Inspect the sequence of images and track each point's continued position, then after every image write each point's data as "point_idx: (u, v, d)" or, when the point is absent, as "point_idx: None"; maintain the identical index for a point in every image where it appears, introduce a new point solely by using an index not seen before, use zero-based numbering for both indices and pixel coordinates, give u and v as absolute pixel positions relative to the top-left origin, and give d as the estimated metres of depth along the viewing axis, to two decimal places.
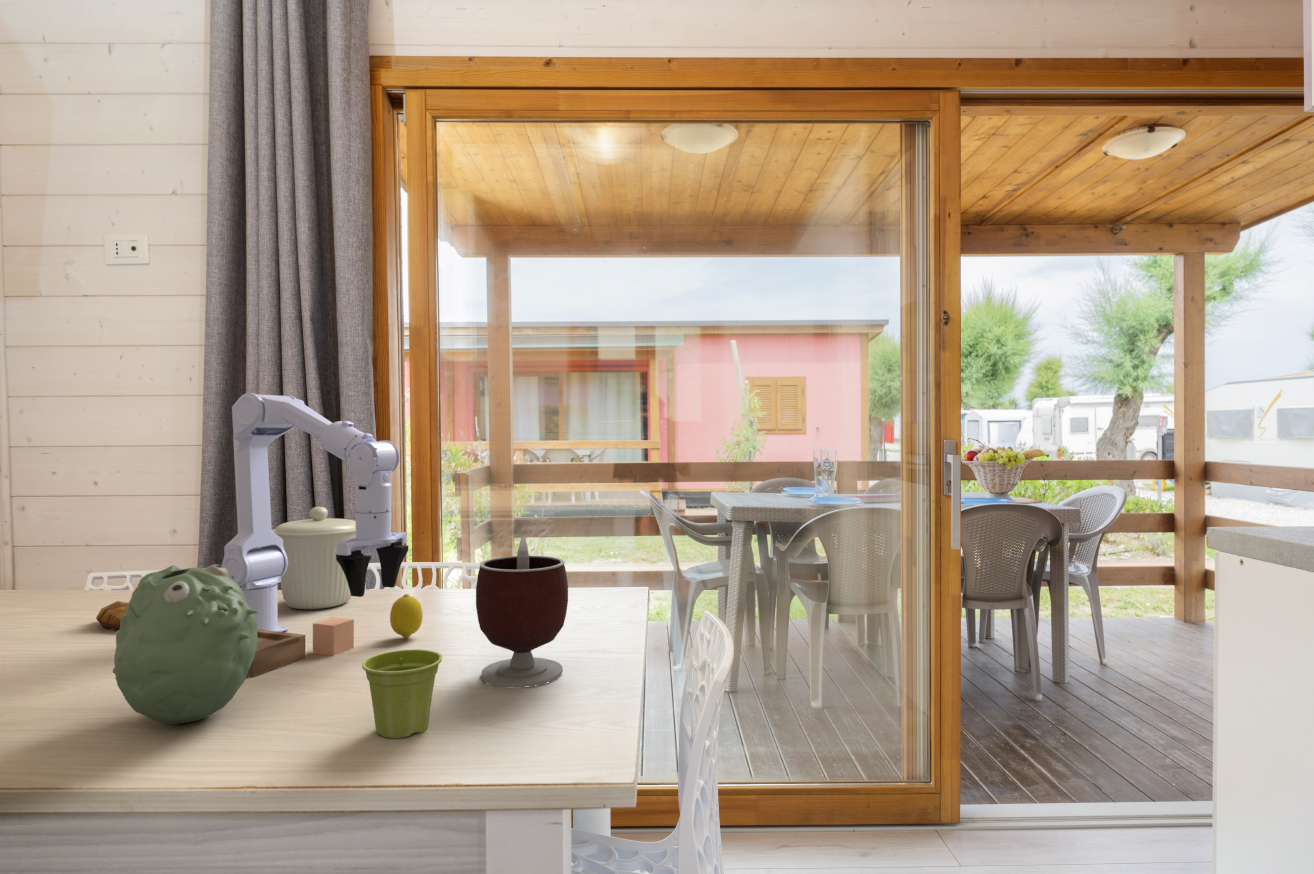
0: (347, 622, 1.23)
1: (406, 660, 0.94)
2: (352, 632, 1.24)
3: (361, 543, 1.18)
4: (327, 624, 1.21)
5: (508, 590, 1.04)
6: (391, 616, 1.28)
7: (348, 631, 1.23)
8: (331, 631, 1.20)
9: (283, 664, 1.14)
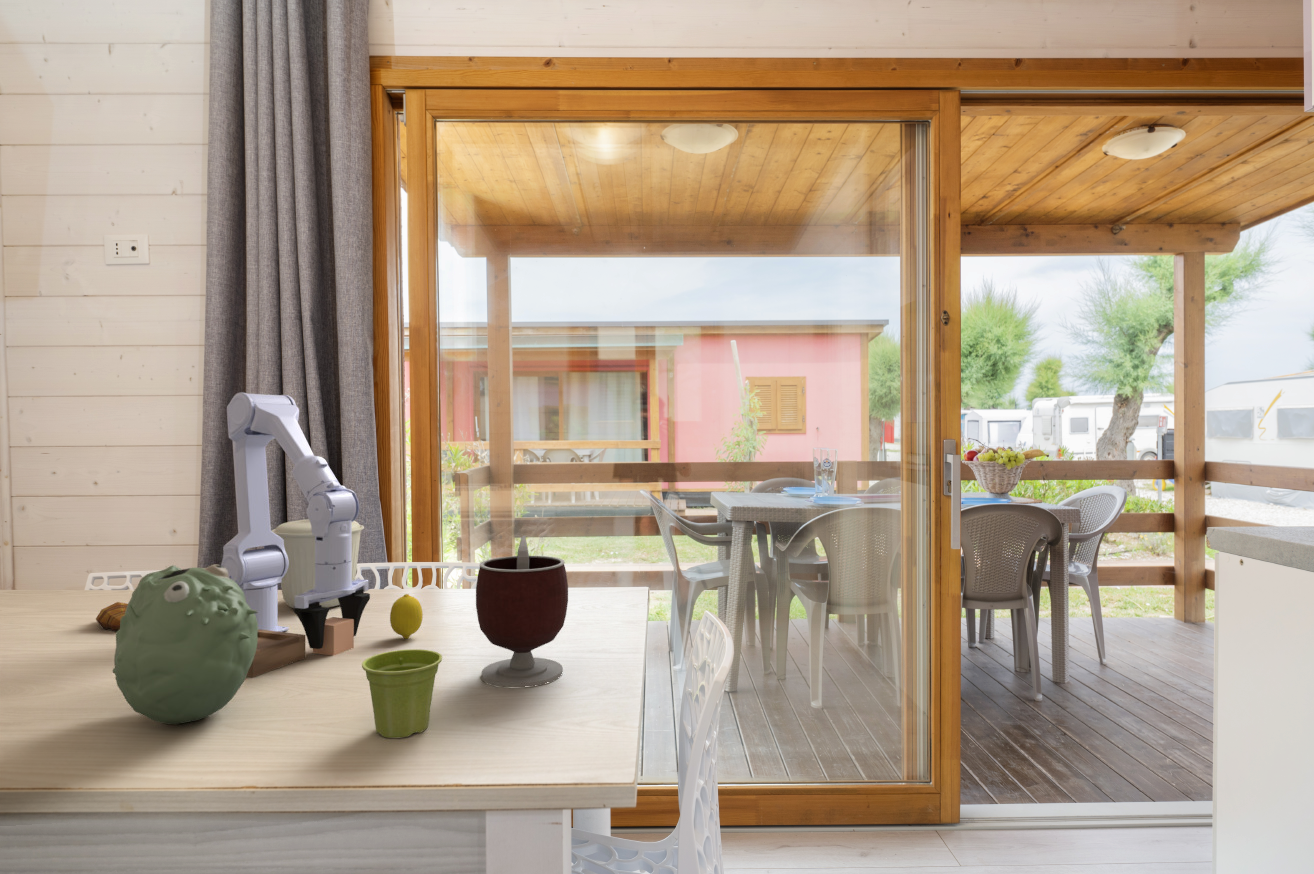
0: (347, 622, 1.23)
1: (406, 660, 0.94)
2: (352, 632, 1.24)
3: (319, 595, 1.18)
4: (327, 624, 1.21)
5: (508, 590, 1.04)
6: (391, 616, 1.28)
7: (348, 631, 1.23)
8: (331, 631, 1.20)
9: (283, 664, 1.14)
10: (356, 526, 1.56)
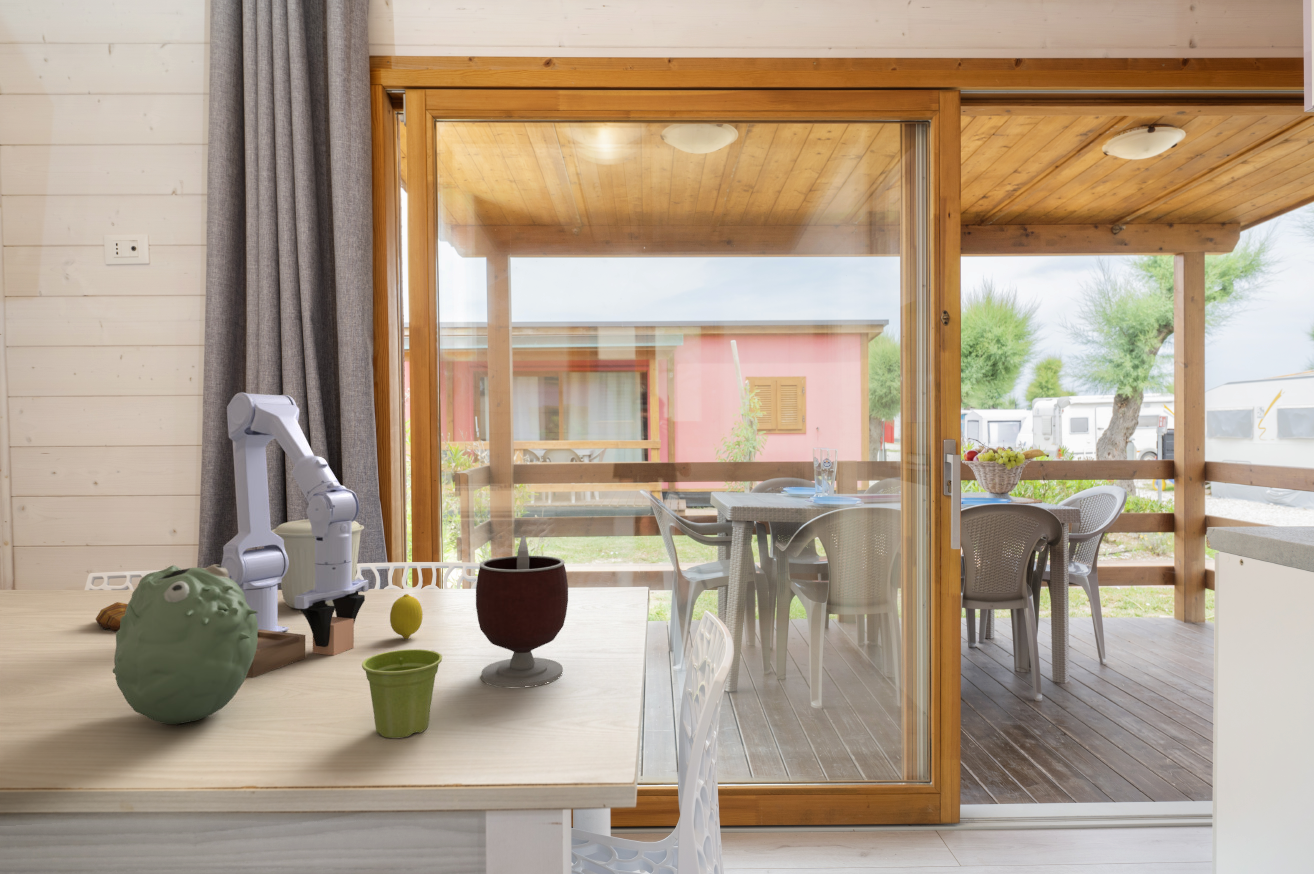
0: (347, 621, 1.23)
1: (406, 660, 0.94)
2: (352, 631, 1.24)
3: (319, 595, 1.18)
4: None
5: (507, 590, 1.04)
6: (391, 616, 1.28)
7: (348, 630, 1.23)
8: (331, 631, 1.20)
9: (283, 664, 1.14)
10: (356, 526, 1.56)
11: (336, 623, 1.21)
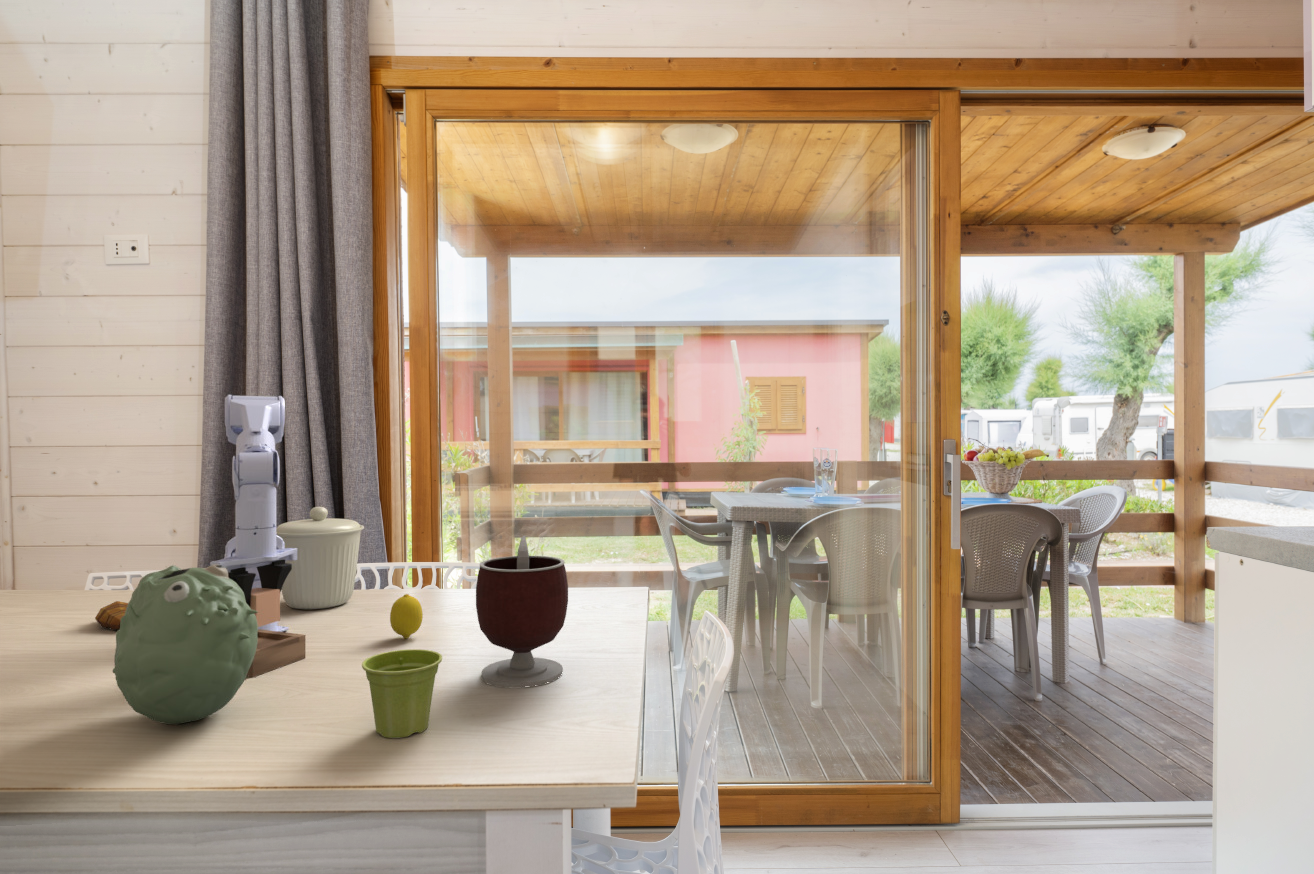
0: (272, 592, 1.15)
1: (406, 660, 0.94)
2: (278, 603, 1.17)
3: (237, 561, 1.11)
4: None
5: (508, 590, 1.04)
6: (391, 616, 1.28)
7: (273, 602, 1.16)
8: (253, 601, 1.13)
9: (283, 664, 1.14)
10: (356, 526, 1.56)
11: (259, 593, 1.14)
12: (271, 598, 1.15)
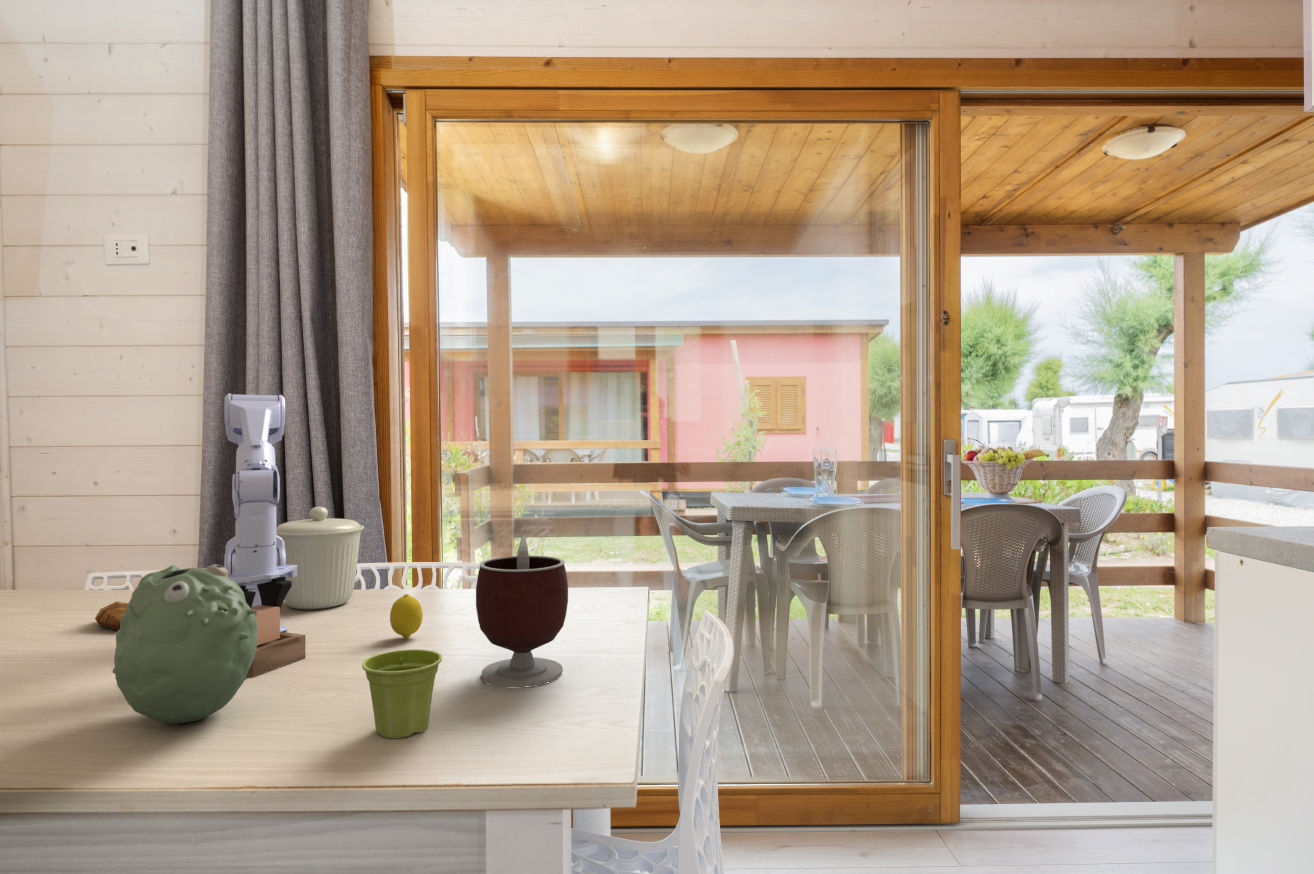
0: (272, 610, 1.15)
1: (406, 660, 0.94)
2: (278, 621, 1.17)
3: (237, 580, 1.11)
4: None
5: (508, 590, 1.04)
6: (391, 616, 1.28)
7: (273, 619, 1.16)
8: None
9: (283, 664, 1.14)
10: (356, 526, 1.56)
11: (259, 611, 1.14)
12: (271, 616, 1.15)
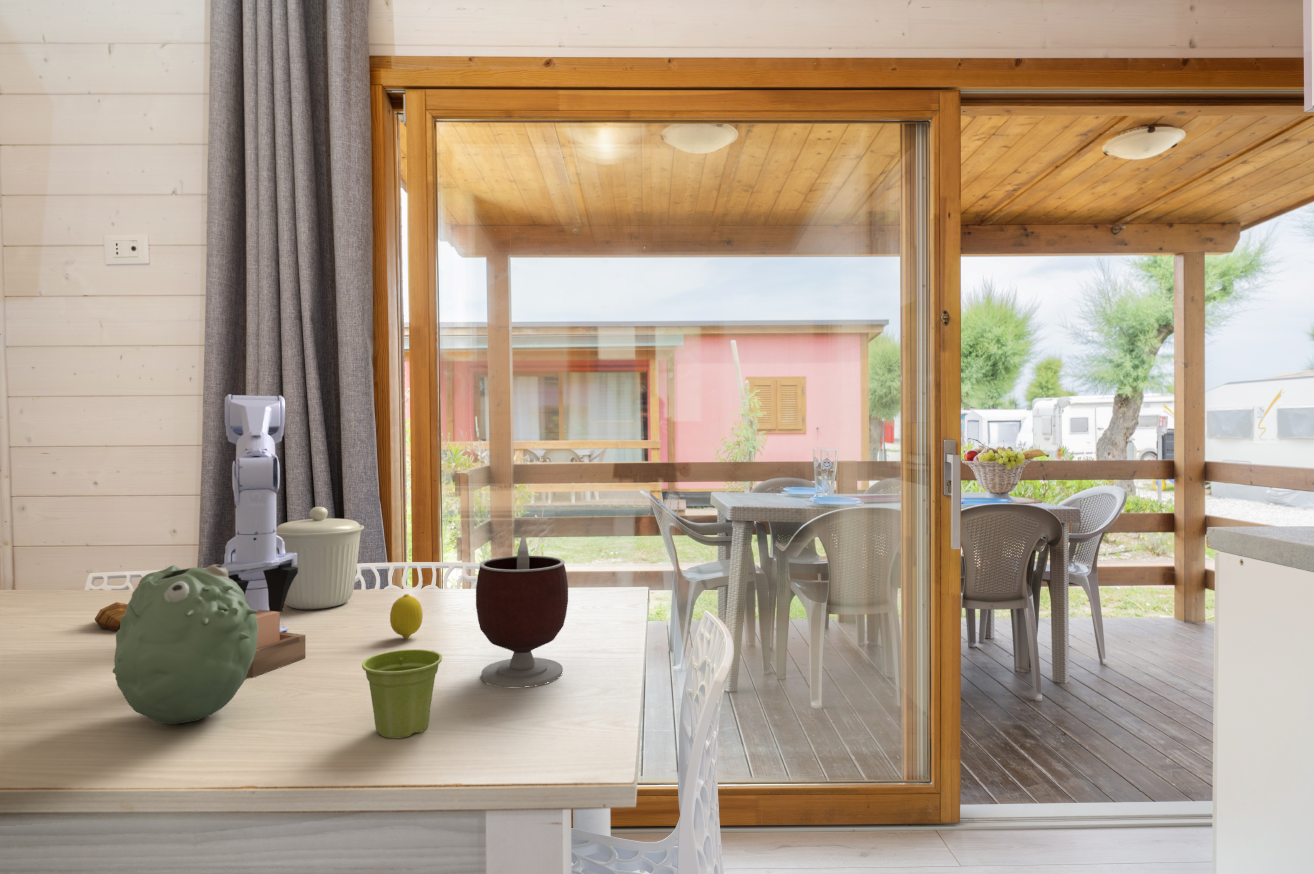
0: (271, 615, 1.15)
1: (406, 660, 0.94)
2: (278, 625, 1.16)
3: (237, 567, 1.11)
4: None
5: (508, 590, 1.04)
6: (391, 616, 1.28)
7: (273, 624, 1.16)
8: None
9: (283, 664, 1.14)
10: (356, 526, 1.56)
11: (259, 616, 1.14)
12: (271, 621, 1.15)
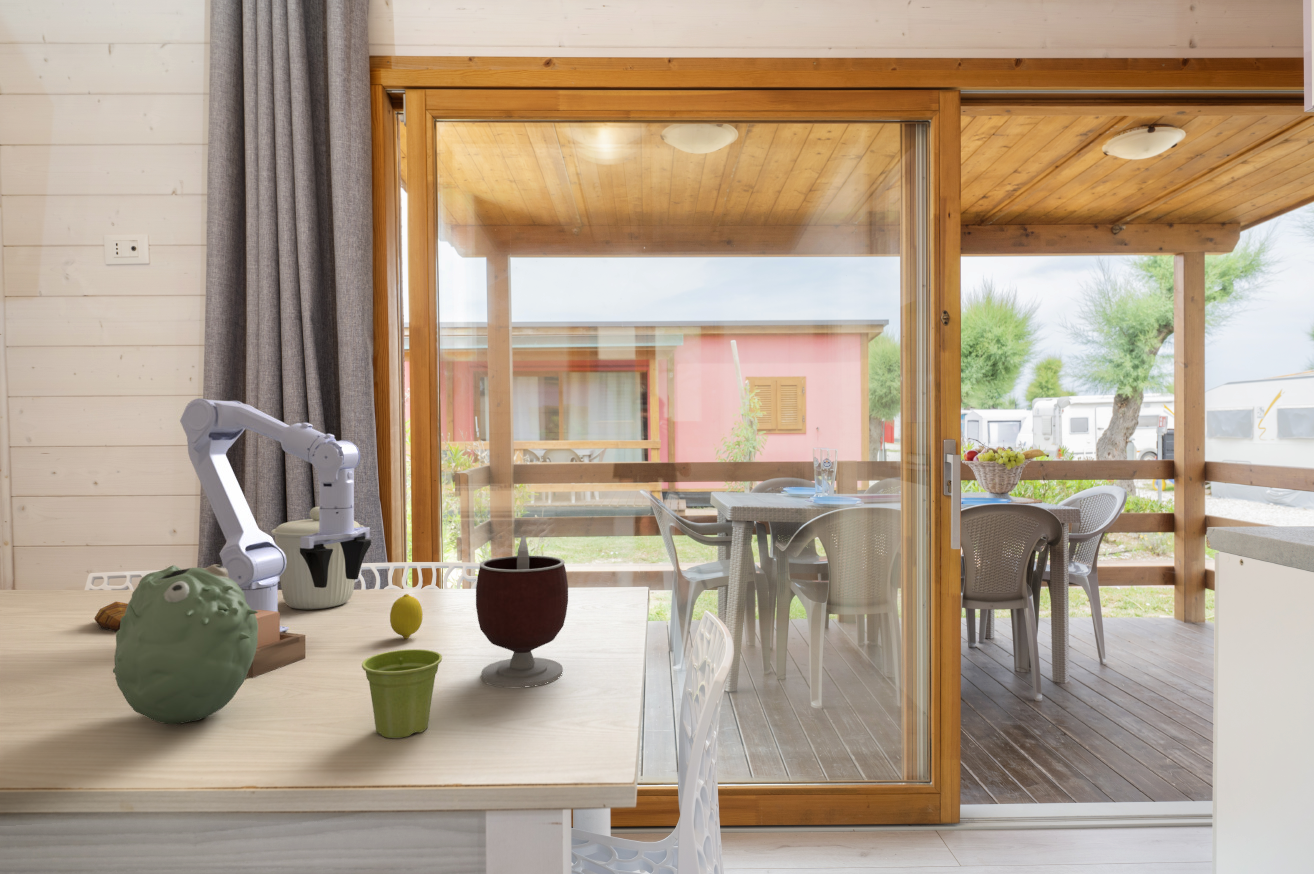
0: (271, 615, 1.15)
1: (406, 660, 0.94)
2: (278, 625, 1.16)
3: (323, 537, 1.25)
4: None
5: (508, 590, 1.04)
6: (391, 616, 1.28)
7: (273, 624, 1.16)
8: None
9: (283, 664, 1.14)
10: (356, 526, 1.56)
11: (259, 616, 1.14)
12: (271, 621, 1.15)
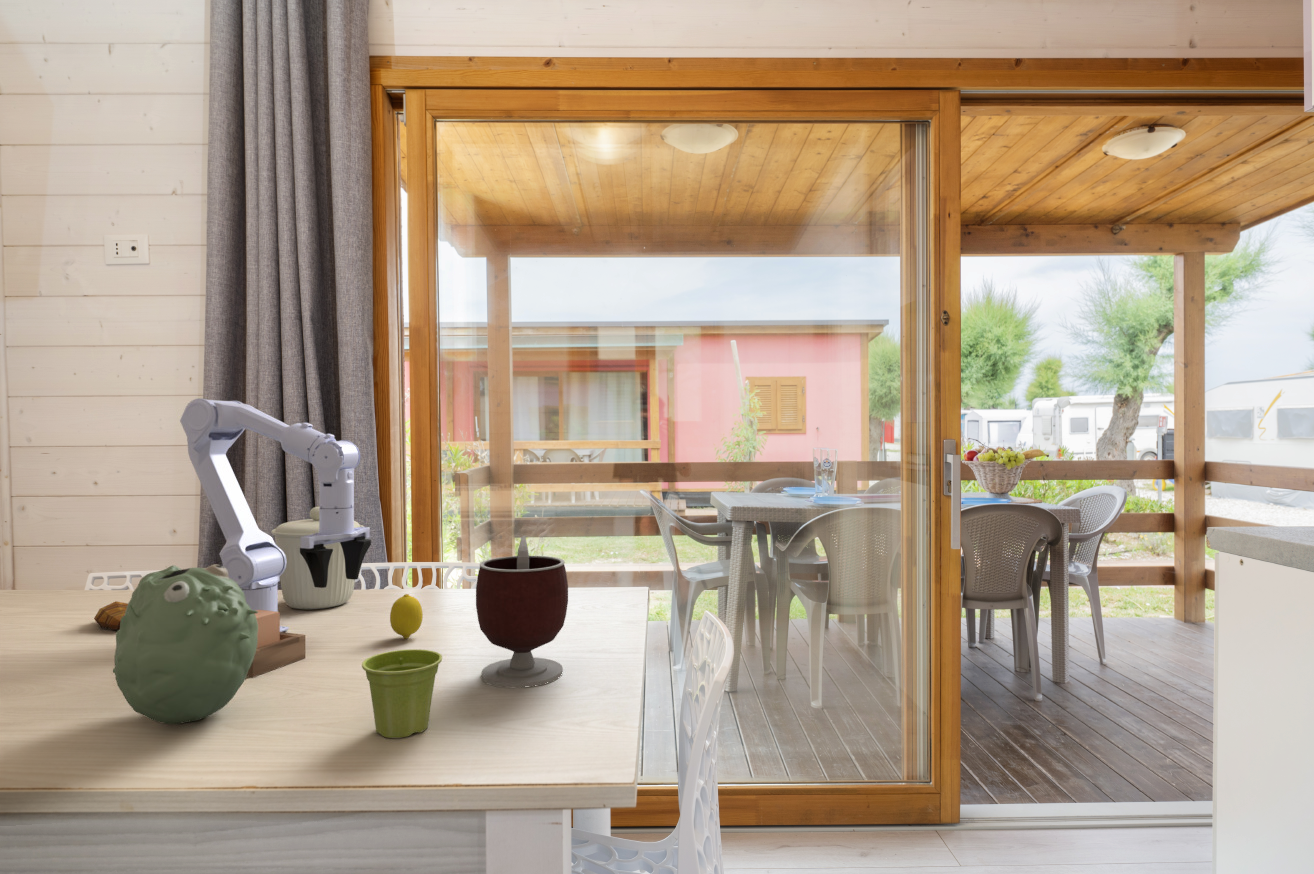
0: (271, 615, 1.15)
1: (406, 660, 0.94)
2: (278, 625, 1.16)
3: (323, 537, 1.25)
4: None
5: (508, 590, 1.04)
6: (391, 616, 1.28)
7: (273, 624, 1.16)
8: None
9: (283, 664, 1.14)
10: (356, 526, 1.56)
11: (259, 616, 1.14)
12: (271, 621, 1.15)
